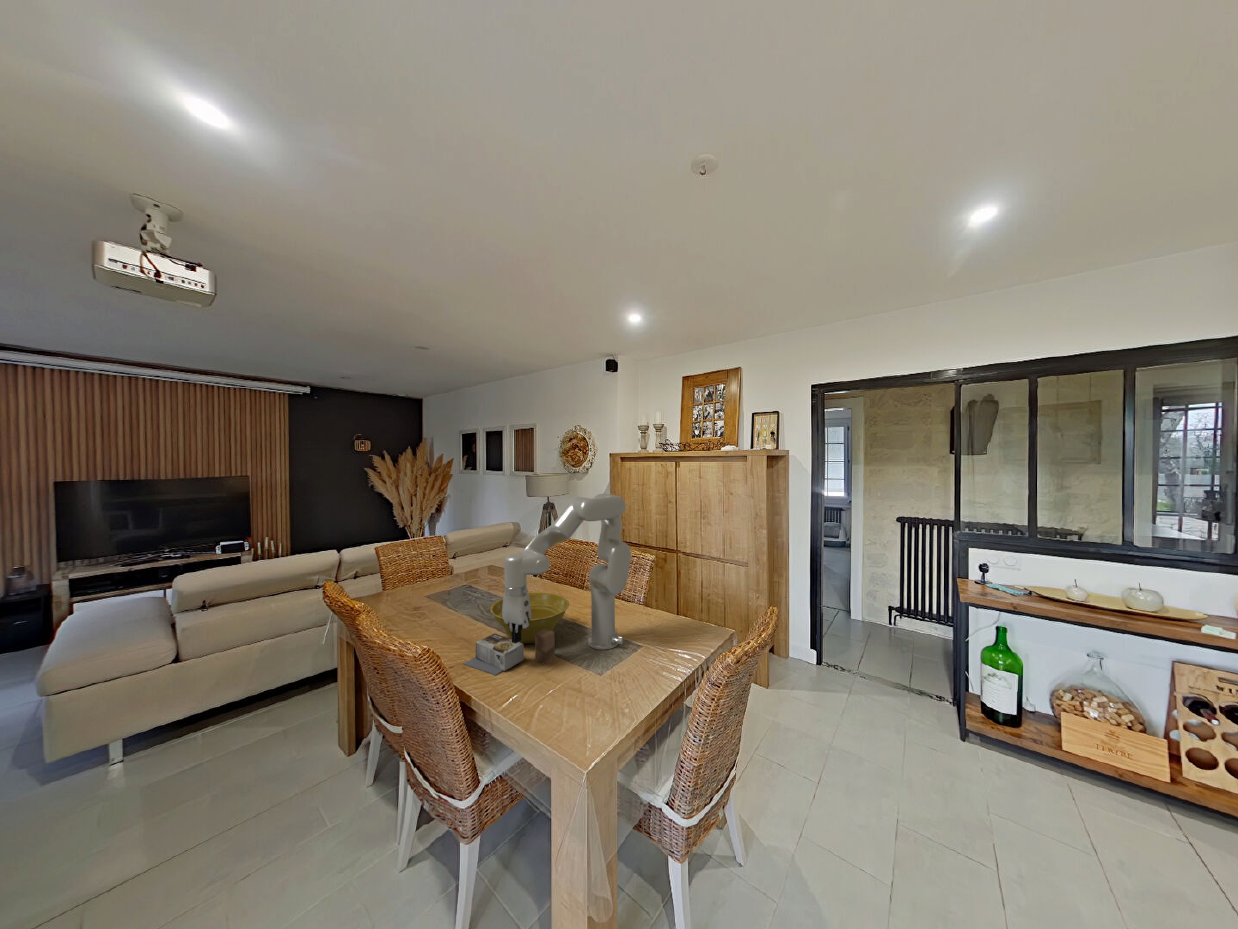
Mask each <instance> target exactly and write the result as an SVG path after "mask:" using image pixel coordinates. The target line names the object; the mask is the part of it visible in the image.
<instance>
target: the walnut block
mask: <svg viewBox="0 0 1238 929" xmlns="http://www.w3.org/2000/svg"><path fill="white" fill-rule="evenodd" d="M534 644H535V645H534V649H535V650H534V651H535V652H534V656H535V657H534V660H535V661H534V662H535V663H536V662H537V663H540V664H543V665H548V664H550V663H551V662H552V661H554V660H555V653H556V652H555V651H556V648H555V644H556V643H555V631H548V630H542V631H540V632H538V633H537V634H535V643H534Z"/></svg>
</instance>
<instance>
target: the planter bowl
mask: <svg viewBox="0 0 1238 929" xmlns="http://www.w3.org/2000/svg"><path fill="white" fill-rule="evenodd" d="M527 594H528V595H529V598H530V604H531V621H528V623H529V627H527V628H523V629H522V630H521V641H519V642H520V643H523V644H535V634H537V633H538V632H540V631H542V630H548V631H552V632H554V629H555V628H556V625H557V624H558V623H559V621H561V620H562V619H563V617H564V616H565V614H566V611H567V610H568V608H570V602H569V600H568V599H567V598H566V597H564V596H562V595H559V594H556V593H549V592H528V593H527ZM502 606H503V598H501V599H499V600H497V601H495V602H494V603H493V604H492V605H490V613H491V614H492V615H493V617H494V618H495V620H496V622H497V623H498V624H499V626H502V627H503V628H504V631H505V633H506V634H507V635H508V637H509V639H511V640H512V631H510V627H509V625H508V624H506V623H505V622H504V620H503V616H502ZM519 626H520V625H519Z"/></svg>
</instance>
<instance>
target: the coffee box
mask: <svg viewBox="0 0 1238 929" xmlns="http://www.w3.org/2000/svg"><path fill="white" fill-rule="evenodd" d="M524 648H525V647H524V643H520V642H518V643H516V644H515V643H512V639H511V638H510V637H509V638H508V637H506V636H503V635H501V634H498V633H493V634H489V635H488V636H486V637H483V638H482V639H480V640H477V641H476V642H475V657H476V658H477V659H479V660H481V661H484V662H486V663H488V664H490V665H492V666H495V667H497V668H499V669H501V670H504V671H503V672H505V671H507V670H509V669H511V668H513V667H514V666H516V665H518V664H519V663H521V662H523V661H524V660H525V654H524V653H525V652H524V651H525V650H524Z"/></svg>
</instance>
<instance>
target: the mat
mask: <svg viewBox="0 0 1238 929" xmlns="http://www.w3.org/2000/svg"><path fill="white" fill-rule="evenodd" d="M463 665H464V666H466V667H470V668H473V669H475V670H478V671H480V672H481V671H482V672H483V673H487V674H490V675H493V676H498V675H499V674H501V673H503V672H505V671H504V670H501V669H499V668H497V667H495V666H492V665H490V664H488V663H486V662H484V661H481V660H479V659H477V658H476V656H474V657H473V658H471V659H469V660H468V661H467V660H466V662H464V663H463Z"/></svg>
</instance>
